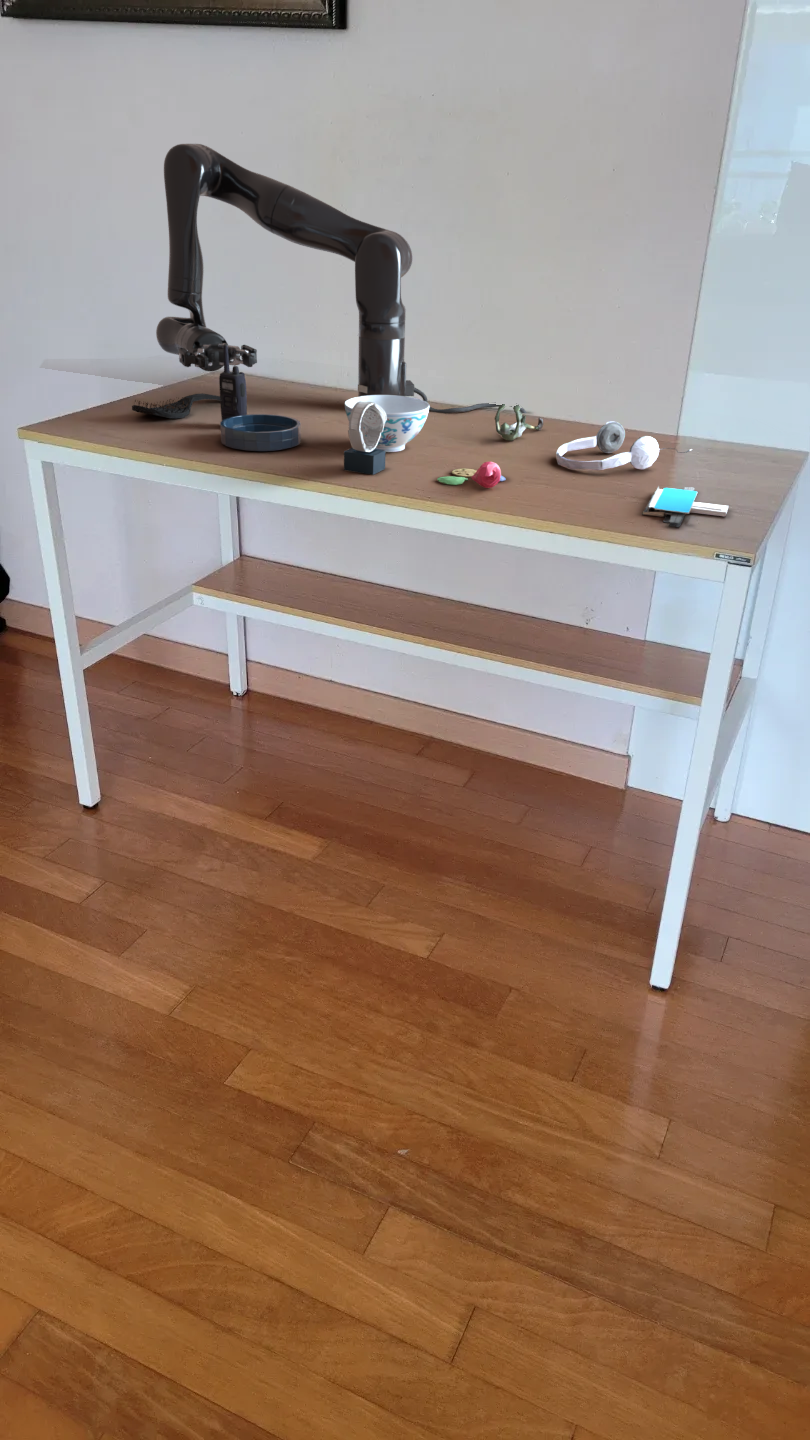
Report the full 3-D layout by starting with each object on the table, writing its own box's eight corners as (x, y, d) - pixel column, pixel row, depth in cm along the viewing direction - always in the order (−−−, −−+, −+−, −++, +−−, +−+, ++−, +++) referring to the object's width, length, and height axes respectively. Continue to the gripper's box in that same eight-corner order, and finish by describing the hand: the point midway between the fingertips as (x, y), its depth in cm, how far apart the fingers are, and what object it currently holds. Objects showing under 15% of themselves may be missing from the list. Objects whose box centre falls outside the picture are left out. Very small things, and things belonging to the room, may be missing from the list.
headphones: (639, 441, 197) (542, 466, 192) (639, 410, 194) (540, 435, 189) (694, 466, 182) (590, 493, 178) (694, 433, 179) (589, 460, 175)
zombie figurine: (546, 394, 204) (515, 410, 193) (543, 430, 208) (511, 447, 196) (521, 390, 206) (488, 405, 195) (517, 426, 210) (485, 442, 198)
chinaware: (373, 433, 201) (373, 391, 198) (442, 445, 195) (444, 402, 191) (327, 449, 190) (327, 405, 186) (400, 463, 183) (401, 417, 180)
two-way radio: (217, 426, 202) (213, 343, 195) (233, 422, 206) (229, 340, 199) (239, 431, 200) (236, 347, 193) (255, 426, 203) (252, 344, 196)
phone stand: (720, 533, 155) (722, 521, 154) (637, 522, 158) (639, 511, 157) (731, 496, 171) (733, 486, 171) (656, 487, 175) (658, 477, 174)
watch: (390, 466, 181) (391, 399, 176) (368, 477, 175) (369, 408, 170) (361, 461, 183) (361, 395, 178) (338, 472, 177) (338, 404, 172)
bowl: (296, 432, 200) (296, 413, 199) (304, 452, 188) (304, 432, 186) (220, 433, 198) (219, 414, 196) (222, 453, 185) (221, 433, 184)
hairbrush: (237, 388, 219) (154, 403, 200) (237, 407, 221) (155, 423, 201) (205, 384, 223) (120, 398, 203) (205, 402, 225) (122, 417, 205)
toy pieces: (524, 482, 175) (526, 455, 173) (478, 495, 168) (480, 467, 166) (470, 467, 182) (472, 441, 180) (424, 478, 175) (425, 451, 173)
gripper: (167, 329, 208) (190, 343, 195) (238, 326, 214) (264, 339, 201) (170, 369, 212) (192, 385, 199) (239, 365, 217) (265, 381, 205)
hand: (228, 362), depth 200 cm, fingers open, 8 cm apart
